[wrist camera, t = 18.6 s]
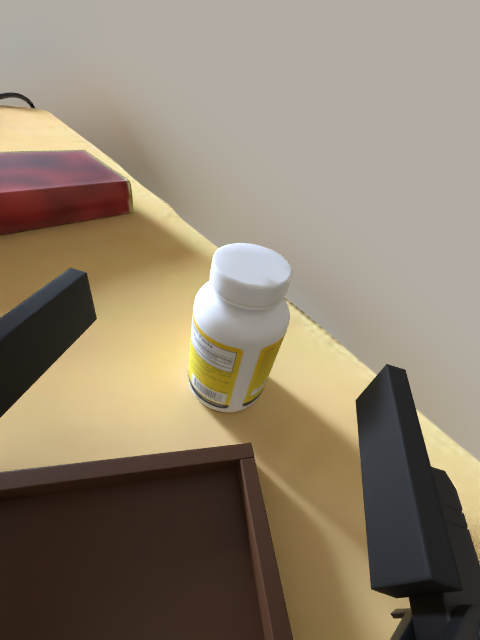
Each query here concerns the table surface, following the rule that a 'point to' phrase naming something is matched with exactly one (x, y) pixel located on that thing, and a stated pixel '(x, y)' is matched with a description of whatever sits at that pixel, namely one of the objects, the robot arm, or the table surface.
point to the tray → (140, 550)
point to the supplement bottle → (238, 326)
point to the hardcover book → (58, 189)
